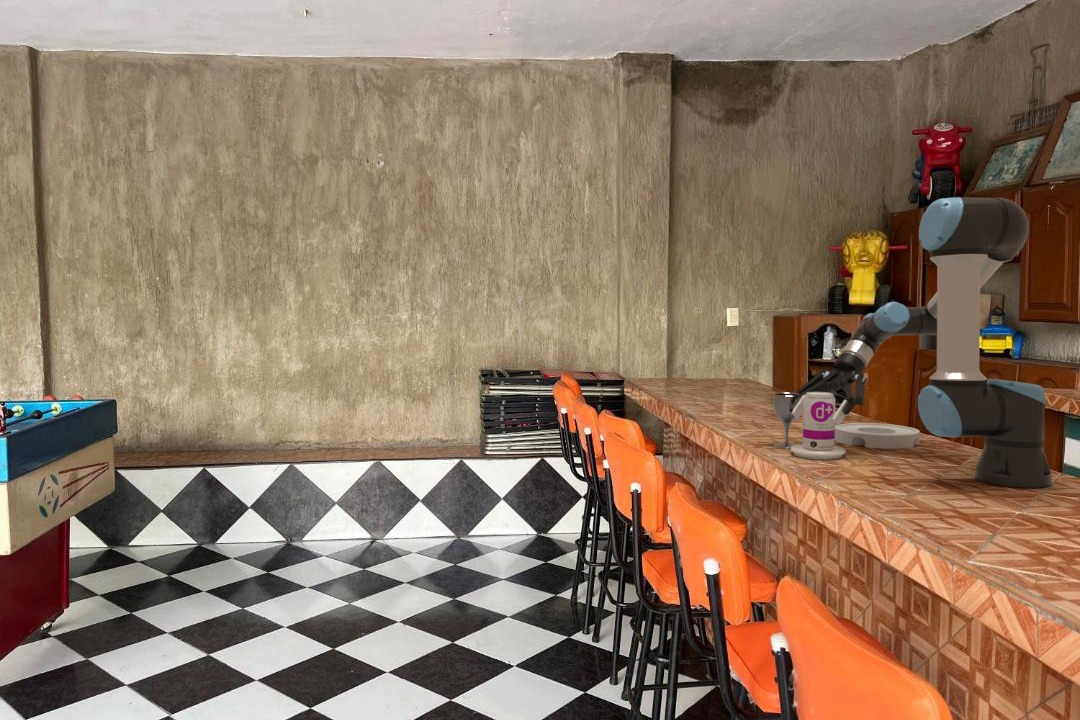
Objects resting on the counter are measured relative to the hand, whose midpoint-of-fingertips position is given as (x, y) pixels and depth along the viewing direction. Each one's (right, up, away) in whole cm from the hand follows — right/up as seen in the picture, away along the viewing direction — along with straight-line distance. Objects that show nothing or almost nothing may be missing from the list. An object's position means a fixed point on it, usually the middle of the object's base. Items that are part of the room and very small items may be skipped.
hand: (814, 419), depth 213 cm
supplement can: (+1, -8, +1) cm, 9 cm away
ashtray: (+26, -9, +22) cm, 35 cm away
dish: (+1, -10, +2) cm, 10 cm away
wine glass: (-3, -9, +15) cm, 18 cm away
